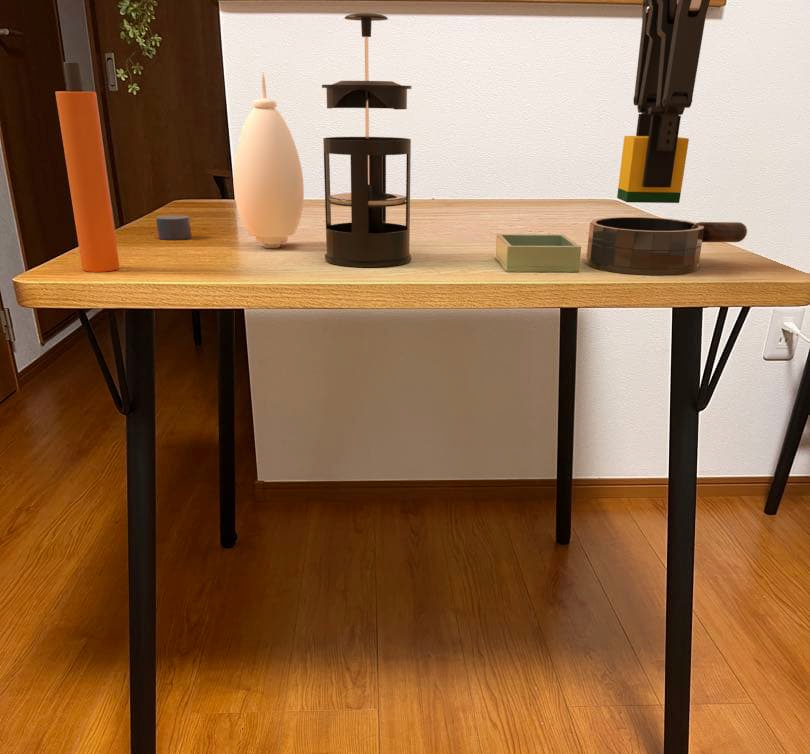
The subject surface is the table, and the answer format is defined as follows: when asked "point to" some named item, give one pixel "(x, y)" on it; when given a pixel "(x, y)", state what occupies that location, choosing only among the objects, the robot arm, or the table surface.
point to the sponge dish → (537, 253)
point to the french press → (367, 174)
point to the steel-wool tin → (173, 227)
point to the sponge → (634, 173)
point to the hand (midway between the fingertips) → (649, 184)
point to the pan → (644, 245)
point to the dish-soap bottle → (87, 173)
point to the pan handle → (722, 231)
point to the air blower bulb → (268, 175)
